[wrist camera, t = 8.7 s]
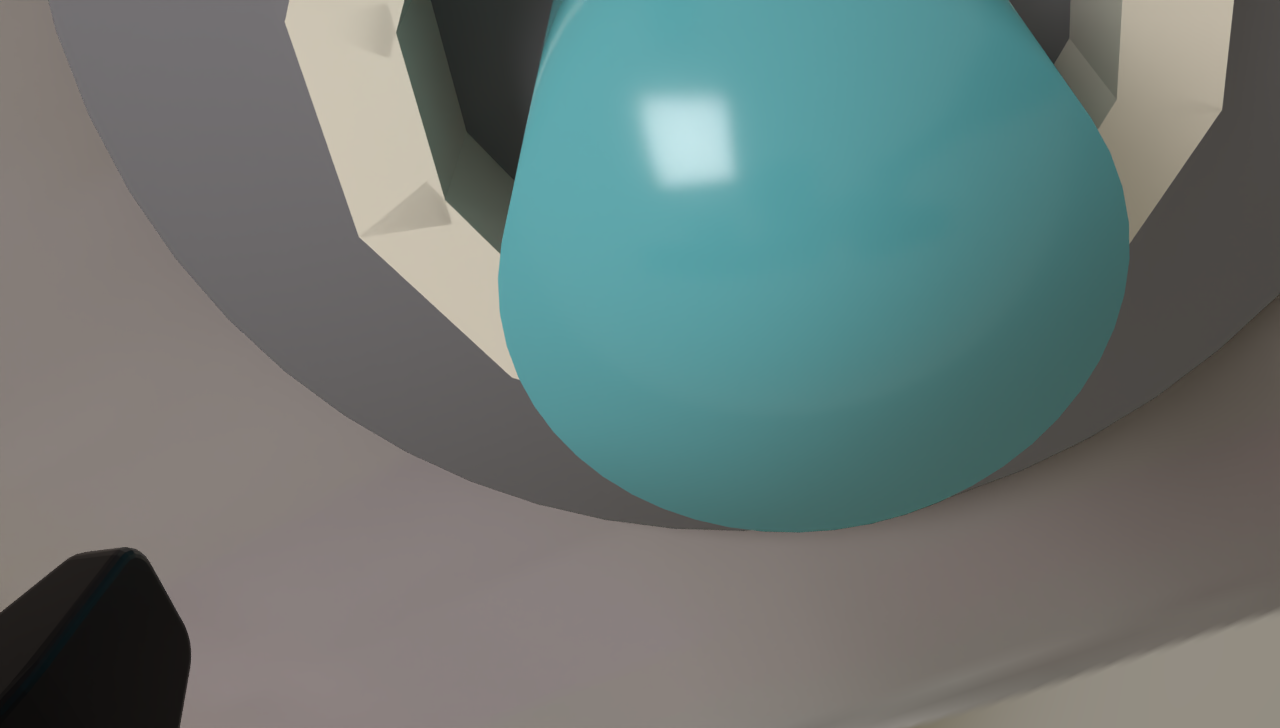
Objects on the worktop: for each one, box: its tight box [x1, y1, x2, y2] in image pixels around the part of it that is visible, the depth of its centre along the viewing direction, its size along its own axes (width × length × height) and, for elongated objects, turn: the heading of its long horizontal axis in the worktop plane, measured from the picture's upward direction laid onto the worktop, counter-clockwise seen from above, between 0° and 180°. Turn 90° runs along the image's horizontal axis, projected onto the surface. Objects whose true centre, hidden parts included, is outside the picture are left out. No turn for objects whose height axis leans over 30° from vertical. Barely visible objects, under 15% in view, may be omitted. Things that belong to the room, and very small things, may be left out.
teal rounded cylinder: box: [498, 0, 1130, 532], centre depth 13 cm, size 5×5×7 cm
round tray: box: [48, 0, 1280, 531], centre depth 15 cm, size 18×18×3 cm
